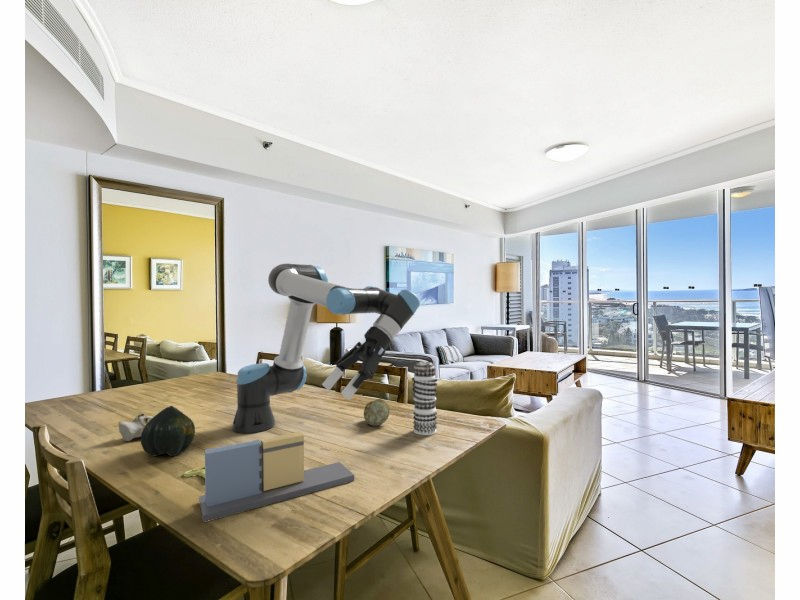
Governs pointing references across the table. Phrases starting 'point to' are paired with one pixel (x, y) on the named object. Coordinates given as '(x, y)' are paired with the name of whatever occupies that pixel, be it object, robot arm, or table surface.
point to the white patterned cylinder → (424, 398)
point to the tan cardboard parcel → (282, 460)
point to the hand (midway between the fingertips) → (334, 392)
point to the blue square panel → (233, 472)
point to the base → (281, 491)
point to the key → (196, 472)
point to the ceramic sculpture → (133, 427)
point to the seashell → (376, 412)
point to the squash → (168, 433)
